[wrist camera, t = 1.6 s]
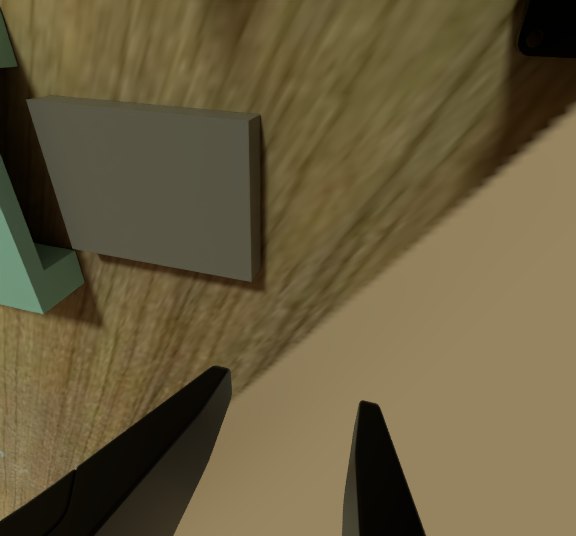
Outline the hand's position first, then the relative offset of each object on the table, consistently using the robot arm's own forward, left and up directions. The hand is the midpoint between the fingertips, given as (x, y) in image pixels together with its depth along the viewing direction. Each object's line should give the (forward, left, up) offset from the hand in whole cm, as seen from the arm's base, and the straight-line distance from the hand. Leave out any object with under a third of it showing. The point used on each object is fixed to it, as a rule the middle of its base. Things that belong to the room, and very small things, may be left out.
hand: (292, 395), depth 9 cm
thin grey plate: (+10, 0, -11) cm, 15 cm away
